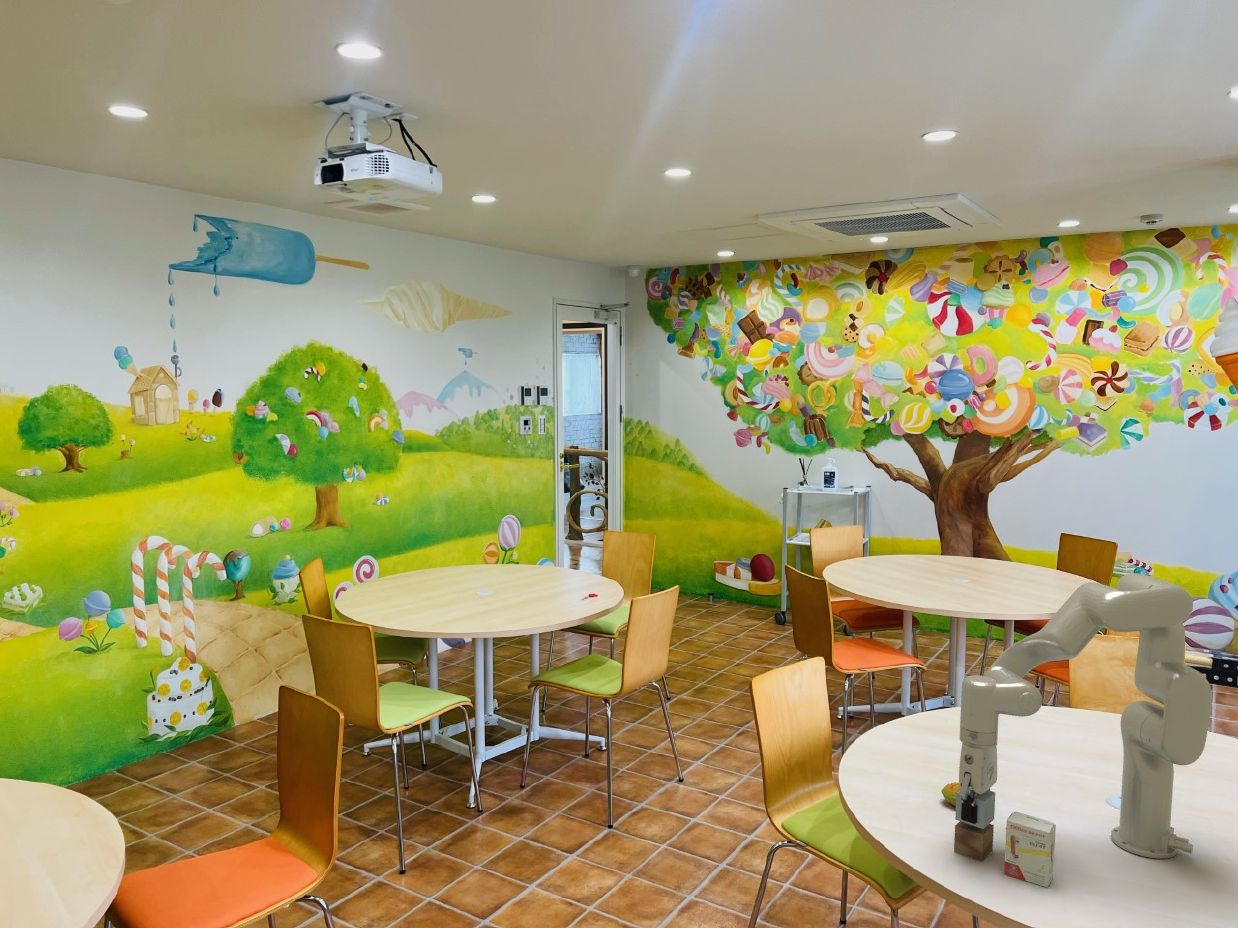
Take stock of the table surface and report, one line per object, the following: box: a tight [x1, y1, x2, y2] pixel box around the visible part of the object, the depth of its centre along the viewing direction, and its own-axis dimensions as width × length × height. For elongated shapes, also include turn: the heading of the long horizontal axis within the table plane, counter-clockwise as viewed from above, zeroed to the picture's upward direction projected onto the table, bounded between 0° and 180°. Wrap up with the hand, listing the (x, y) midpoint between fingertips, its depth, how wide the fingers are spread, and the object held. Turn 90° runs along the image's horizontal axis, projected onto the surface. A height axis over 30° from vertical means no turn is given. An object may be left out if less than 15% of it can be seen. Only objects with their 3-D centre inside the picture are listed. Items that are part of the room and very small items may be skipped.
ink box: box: [1003, 811, 1057, 888], centre depth 182 cm, size 9×5×12 cm, turn 52°
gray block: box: [954, 786, 996, 829], centre depth 192 cm, size 6×6×6 cm
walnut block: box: [953, 821, 995, 863], centre depth 192 cm, size 6×6×6 cm
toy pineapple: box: [940, 781, 961, 807], centre depth 213 cm, size 7×10×5 cm
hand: (975, 815), depth 192 cm, fingers closed on gray block, 5 cm apart
